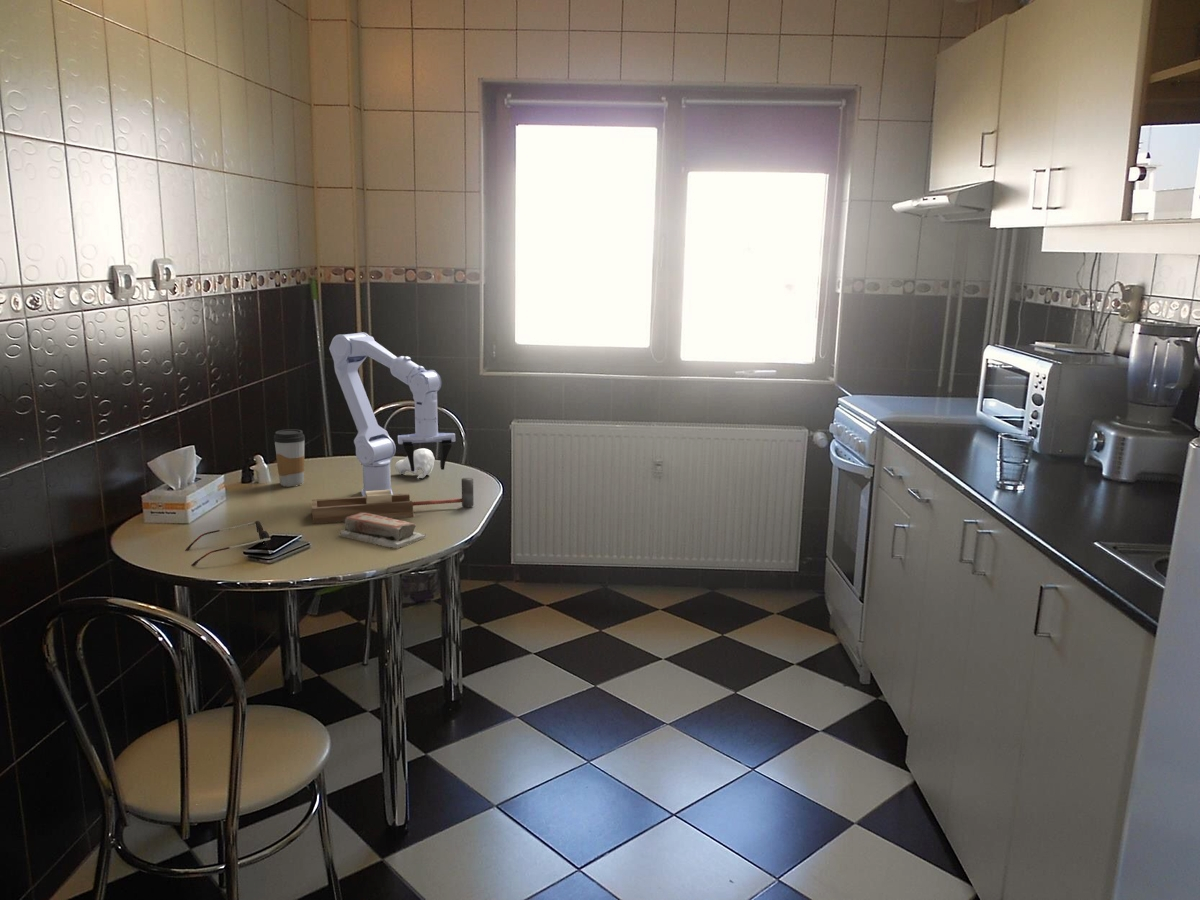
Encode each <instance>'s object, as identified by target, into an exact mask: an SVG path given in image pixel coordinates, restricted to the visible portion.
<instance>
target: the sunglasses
mask: <svg viewBox="0 0 1200 900" xmlns="http://www.w3.org/2000/svg"><path fill="white" fill-rule="evenodd" d="M253 525H255V526H256V532H257V533H258V537H259V540H255V541H252V542H247V543H242V544H237V545H232V546H228V547H223V548H219V549H214V550H211V551H208V552H207V553H206V554H204V555H202V556H201V557H200V558H198V559H196V560H195V561H194V562H193V563H192V564H191V566H196V565H197V564H198V563H199V562H200V561H202V560H203V559H205V558H206V557H207V556H209V555H211V554H212V553H215V552H216V553H217V552H221V551H225V550H231V549H233V548H234V549H235V548H238V547H243V546H248V545H252V544H258V543H262V542H263V541H265V542H266V543H267V545H268V547H270V548H272V546H271V545H272V544H271V540H272V539H271V536H270V534H269V533H268V532H267V530H264V528H263V524H262V523H261V521H259V520H256V521H253V522H249V523H244V524H241V525H236V526H231V527H226V528H222V529H217V530H212V531H208V532H204V533H202V534H200V535H199V536H197V538H195V539H194V540H193V541H192V542H191V543H190V544H189V546H187V547H186V548H185V550H184V551H185V552H187V551H190V549H191V547H192V546H193V545H194V544H195V543H196V542H197V541H198V540H200V539H201V538H202V537H205V536H206V535H210V534H214V533H218V532H223V531H227V530H232V529H237V528H238V529H239V528H242V527H245V526H253Z"/></svg>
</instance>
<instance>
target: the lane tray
mask: <svg viewBox="0 0 1200 900" xmlns="http://www.w3.org/2000/svg"><path fill="white" fill-rule="evenodd" d="M410 498H411V497H410V493H399V494H398V493H397V494H393V495H392V502H386V503H371V504H366V496H364V497H362V496H352V497H351V496H350V497H349V496H348V497H335V498H333V497H332V498H322V499H318V498H317V499H311V508H312V524H313V523H316V524H327V523H328V522H330V523H341V521H343V522H345V519H346V518H347V517H350V516H352V515H355V514H358V513H361V512H362V513H370V514H374V515H378V516H383V517H387V518H392V519H399V518H411V517H412V518H413V517H414V506H413V502H414V501H413V500H410Z"/></svg>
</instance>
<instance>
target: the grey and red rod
mask: <svg viewBox="0 0 1200 900" xmlns="http://www.w3.org/2000/svg"><path fill="white" fill-rule="evenodd" d="M386 502H392V494H391V492H390V490H377V491H366V504H371V503H386ZM456 503H461V506H462V507H464V508H466V507H467V508H468V507H469V508H470V507H473V506H474V505H475V504H474V503H475V502H474V478H473V477H463V478H461V498H452V499H451V498H448V499H434V500H420V501H419V500H418V501H417V500H416V501H413V507H414V506H425V505H426V506H427V505H430V506H431V505H444V504H456Z"/></svg>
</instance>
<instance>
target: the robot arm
mask: <svg viewBox="0 0 1200 900" xmlns="http://www.w3.org/2000/svg"><path fill="white" fill-rule="evenodd" d="M329 352H330V355H331V357H332V360H333V367H334V373H335V376H336V378H337V380H338V383H339V385H340V388H341V391H342V393H343V396H344V399H345V401H346V403H347V406H348V409H349V411H350V414H351V416H352V419H353V422H354V424H355V425H354V426H355V427H356V430H357V434H356V436H355V437H354V439H353V444H354V446H355V447H354V448H355V455H356V456H355V457H356V459H357V460H358V462H359V463H360V465H361V466H362V480H363V481H362V484H363V486H362V487H363V488H362V489H360V492H361V497H364V496H366V491H377V490H390V492H391V494H392V495H394V493H393V490H392V483H391V481H392V480H391V478H392V477H391V462H392V458H393V457H394V456H395V455H396V450H397V449H396V444H395V441H394V440H393V439H392V437H390V435H389V433H388V431H387V430H386V429H384V428H383V427H382V426H380V425H379V424H378V420H377V418H376V417H375V416H376V415H375V413H374V410H373V408H372V406H371V405H372V404H370V400H369V398H368V396H367V392H366V390H365V387H364V385H363V382H362V380H361V377H360V374H359V372H358V371H359V368H360V366H361V365H362V364H363V363H364V361H365V360H366V358H367V357H369V358H370V359H373V360H374V361H375V362H377V363H379V364H382V365H383V366H384V367H387V368H388V369H389V370H390V374H391V375H392V376H393V377H394V378H396V379H398V380H399V381H401V382H402V383H404V384H406V385H407V386H409V390H410V392H411V393H412V395H413V396H412V399H413V400H414V424H415V425H414V426H415V427H414V428H415V429H414V431H415V432H414V433H411V434H409V433H408V434H401V435H399V434H398V435H397V444H398V445H401V446H402V447H403V449H404V451H405V454H406V457H407V456H408V459H409V463H410V468H411V471H414V451H415V448H414V444H418V443H419V444H420V443H439V450H440V451H439V452H440V459H439V460H440V463H439V466H440V467H439V468H440V470H441V471H443V470H445V465H446V460H447V457H448V456H449V455H448V454H449V452H450V451H451V448H452V446H453V445H452V444H453V443H454V442H456V433H454V432H439V430H438V429H439V427H438V426H439V425H438V424H439V421H438V415H439V414H438V391H440V389H441V388H442V378H441V375H440V374H439V373H438V372H437V371H436V370H434V369H429V370H428V369H425V367H424V366H422V365H419V364H417V363H416V362H414V361H412V360H411V359H412V358H411V357H410V356H407V355H406V356H404V355H401V356H396V355H395V354H393V353H392V352H391V351H389V350H388V349H387V348H385V347H384V346H383V345H382V344H380V343H378V342H377V341H375V338H374V336H372V335H369V334H368V333H367V332H364V331H363V332H362V331H359V332H356V333H347V334H345V333H344V334H336V335H335V336H334V337H333V338H332V340H331V342H330V345H329ZM452 442H453V443H452Z"/></svg>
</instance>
